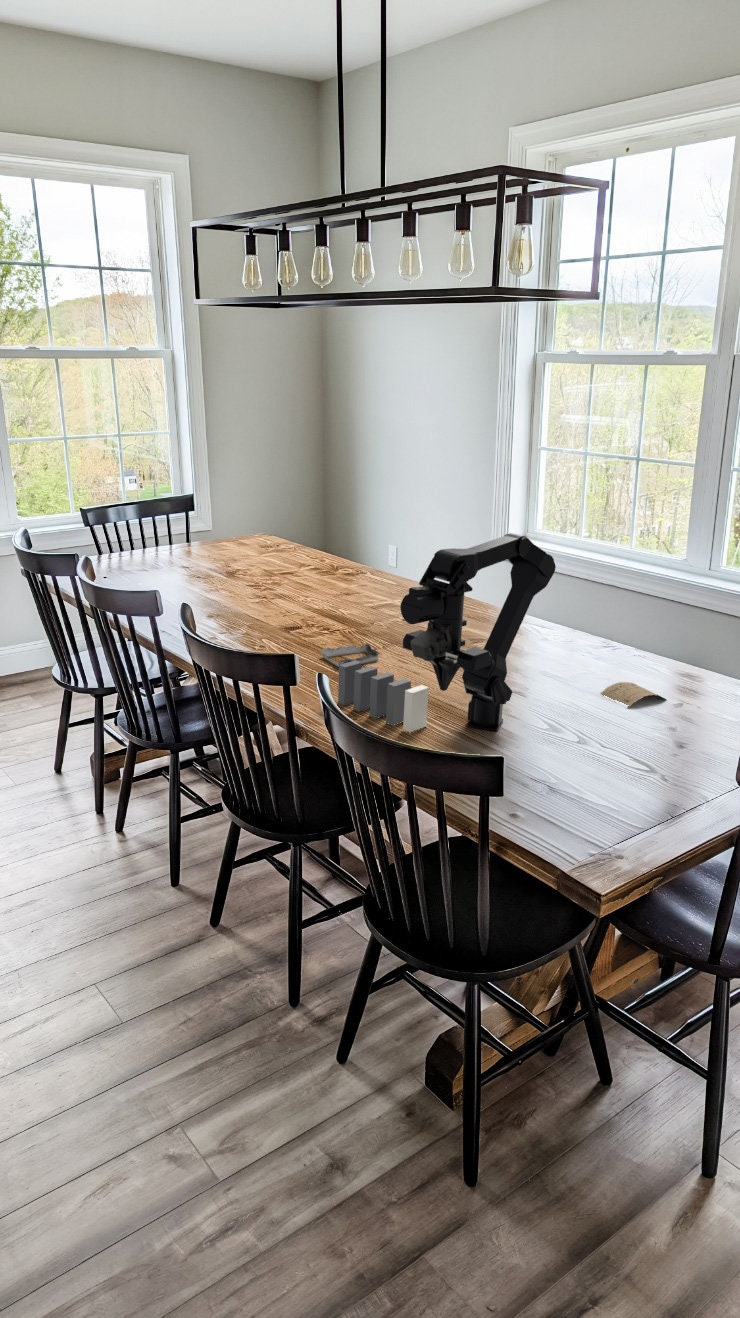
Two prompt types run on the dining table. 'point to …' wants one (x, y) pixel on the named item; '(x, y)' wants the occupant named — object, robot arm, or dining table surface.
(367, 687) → the domino
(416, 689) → the loose domino
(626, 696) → the tan curved piece
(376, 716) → the domino
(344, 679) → the domino
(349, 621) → the dining table surface
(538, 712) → the dining table surface
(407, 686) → the domino
